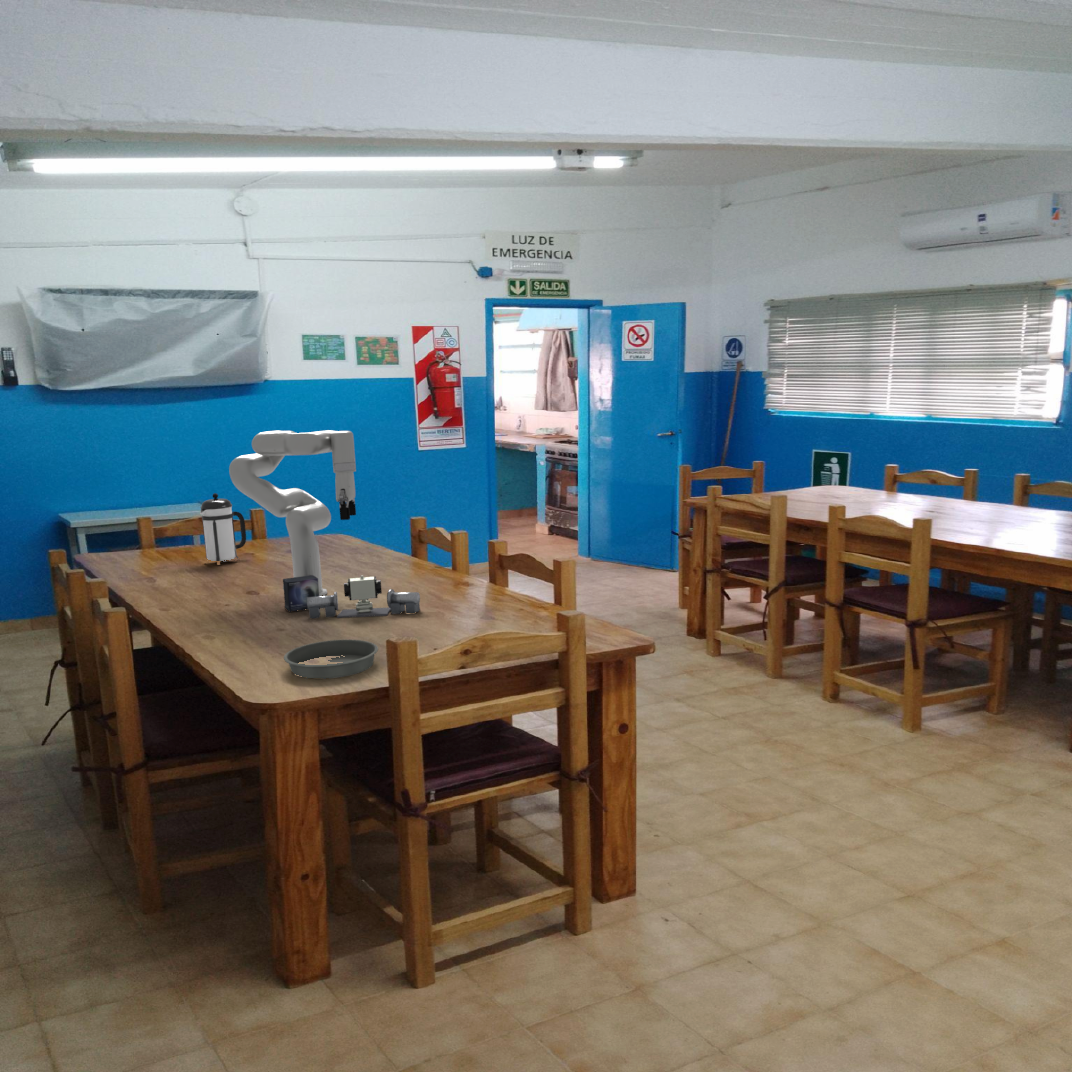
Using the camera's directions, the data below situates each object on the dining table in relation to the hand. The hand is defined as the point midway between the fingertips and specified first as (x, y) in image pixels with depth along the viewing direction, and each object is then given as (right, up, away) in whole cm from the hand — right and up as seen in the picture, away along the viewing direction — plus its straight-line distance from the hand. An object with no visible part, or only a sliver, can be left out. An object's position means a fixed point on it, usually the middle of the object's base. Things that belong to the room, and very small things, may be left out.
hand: (348, 517), depth 352 cm
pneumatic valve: (+9, -31, -19) cm, 38 cm away
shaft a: (-5, -32, -20) cm, 38 cm away
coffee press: (-69, -18, +89) cm, 114 cm away
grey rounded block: (+22, -31, -21) cm, 43 cm away
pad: (+9, -31, -19) cm, 38 cm away
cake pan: (+10, -42, -78) cm, 89 cm away
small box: (-14, -31, -8) cm, 35 cm away
